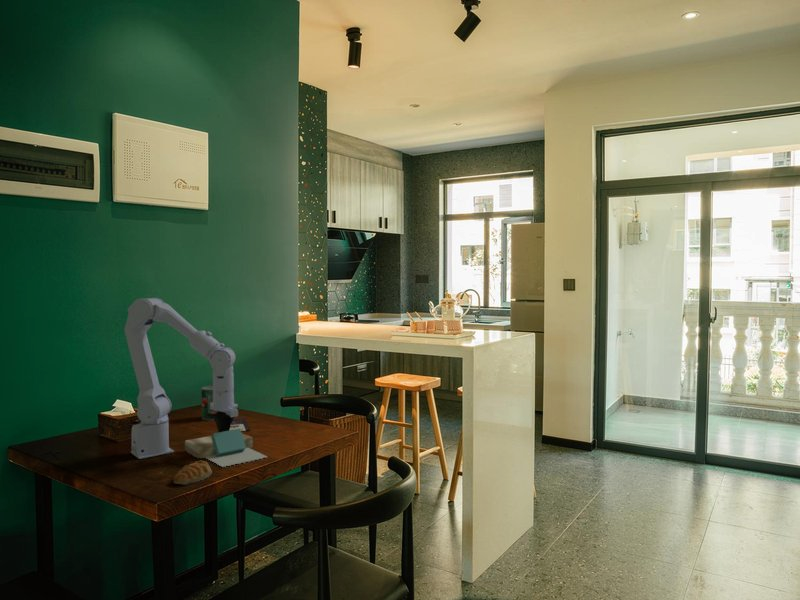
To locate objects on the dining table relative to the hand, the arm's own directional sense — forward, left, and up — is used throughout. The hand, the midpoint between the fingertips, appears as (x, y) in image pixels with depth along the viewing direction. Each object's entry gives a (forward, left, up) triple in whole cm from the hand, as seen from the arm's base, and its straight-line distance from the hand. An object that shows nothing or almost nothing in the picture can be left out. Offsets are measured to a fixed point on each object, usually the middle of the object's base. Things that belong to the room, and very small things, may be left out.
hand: (224, 438), depth 161 cm
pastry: (-15, -17, -4) cm, 23 cm away
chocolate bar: (+15, +26, -5) cm, 31 cm away
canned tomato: (+15, +43, -4) cm, 46 cm away
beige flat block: (0, +3, -4) cm, 5 cm away
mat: (0, -8, -4) cm, 9 cm away
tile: (0, -3, -1) cm, 3 cm away
